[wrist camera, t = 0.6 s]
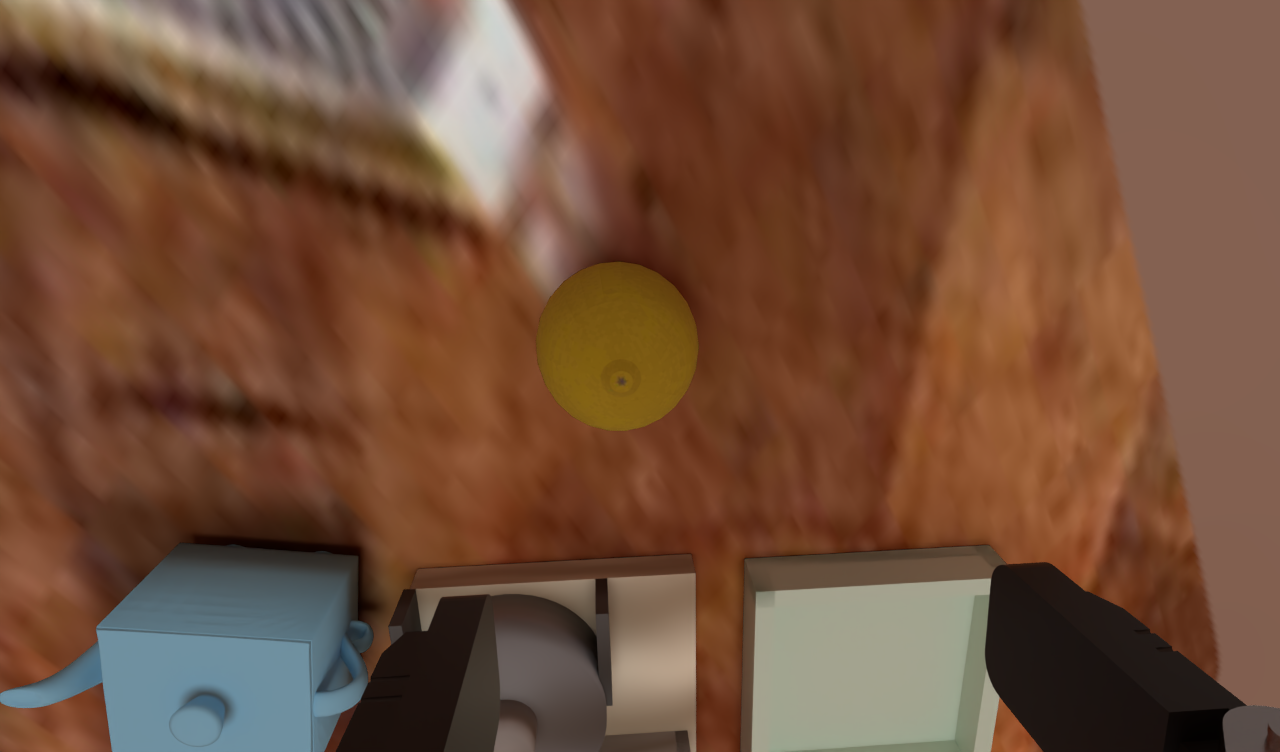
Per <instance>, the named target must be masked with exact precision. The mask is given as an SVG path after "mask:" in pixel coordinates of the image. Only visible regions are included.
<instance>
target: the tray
mask: <svg viewBox="0 0 1280 752" xmlns="http://www.w3.org/2000/svg"><path fill="white" fill-rule="evenodd" d="M999 565H1006V563H1005V561H1004V560H1003V559H1002V558H1001V557H1000V556H999V555H998V554H997V553H996V552H995V551H994V550H993V549H992V548H991V546H990V545H980V546H962V547H944V548H926V549H908V550H891V551H873V552H855V553H837V554H819V555H801V556H783V557H765V558H747V559H745V564H744V610H743V655H742V701H741V746H740V752H991V746H992V740H993V734H994V727H995V721H996V715H997V709H998V703H999V695H998V694H997V693H996V691H995V689H994V688H993V686H992V683H991V681H990V678H989V675H988V672H987V668H986V662H985V642H986V631H987V619H988V608H989V596H990V585H991V577H992V573H993V571H994V569H995V568H996V567H997V566H999Z"/></svg>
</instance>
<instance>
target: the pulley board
mask: <svg viewBox="0 0 1280 752" xmlns="http://www.w3.org/2000/svg"><path fill="white" fill-rule="evenodd" d="M483 594H489V595H490V596H491V599H492V604H493V612H494V623H495V634H496V645H497V656H498V667H499V678H500V715H499V725H498V730H497V736H496V741H495V746H494V752H696V573H695V569H694V564H693V560H692V555H691V554H679V555H661V556H643V557H625V558H607V559H589V560H570V561H552V562H534V563H516V564H498V565H480V566H462V567H444V568H426V569H418V570H417V572H416V575H415V577H414V580H413V582H412V585H411V587H410V589H407V590H403V592H402V595H401V597H400V600H399V602H398V605H397V607H396V609H395V612H394V614H393V617H392V619H391V622H390V624H389V626H388V627H389V633H390V639H391V645H392V644H393V643H394V642H395V641H396V640H397V639H399V638H400V637H401V636H402V635H403V634H404V633H405V632H416V631H428V629H429V626H430V623H431V621H432V618H433V616H434V613H435V611H436V608H437V606H438V603H439V601H440V599H441V598H442V597H449V596H466V595H483Z"/></svg>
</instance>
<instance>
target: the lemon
mask: <svg viewBox="0 0 1280 752" xmlns="http://www.w3.org/2000/svg"><path fill="white" fill-rule="evenodd" d="M536 349H537V361H538V365H539V368H540V371H541V374H542V377H543V380H544V383H545V385H546V386H547V388H548V389H549V391H550V393H551V394H552V396H553V397H554V399H555V400H556V402H557V403H558V404H559V405H560V406H561V407H562V408H564V409H565V410H566V411H567V412H568V413H569V414H570V415H571V416H573V417H574V418H576V419H578V420H580V421H581V422H583V423H585V424H587V425H589V426H592V427H596V428H600V429H604V430H611V431H627V430H631V429H636V428H640V427H644V426H646V425H649V424H651V423H653V422H655V421H657V420H659V419H661V418H662V417H663V416H665V415H666V414H667V413H668V412H669V411H671V410H672V409H673V408H674V407H675V406H676V405H677V403H678V402H679V401H680V399H681V398H682V397H683V395H684V394H685V393H686V391H687V390H688V387H689V385H690V383H691V380H692V378H693V375H694V373H695V370H696V365H697V357H698V350H699V343H698V336H697V328H696V323H695V320H694V318H693V315H692V313H691V311H690V308H689V306H688V303H687V302H686V301H685V299H684V298H683V297H682V295H681V294H680V293H679V291H678V290H677V289H676V287H675V286H674V285H673V284H671V283H670V282H669V281H667V280H666V279H665V278H664V277H662V276H661V275H660V274H658V273H657V272H655V271H653V270H650V269H648V268H646V267H643V266H641V265H638V264H632V263H626V262H620V261H619V262H609V263H599V264H596V265H594V266H591V267H588V268H585V269H582V270H580V271H579V272H577V273H576V274H574V275H573V276H571V277H570V278H568V279H567V280H565V281H564V282H563V283H562V284H561V285H560V287H559V288H558V289H557V290H556V291H555V292H554V294H553V295H552V296H551V297H550V298H549V300H548V303H547V305H546V307H545V309H544V311H543V313H542V315H541V317H540V321H539V326H538V331H537V336H536Z"/></svg>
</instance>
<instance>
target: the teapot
mask: <svg viewBox="0 0 1280 752" xmlns="http://www.w3.org/2000/svg"><path fill="white" fill-rule="evenodd" d="M96 631H97V636H98V641H97V642H96V643H95V644H94V645H93V646H91V647H90V648H89V649H88V650H87V651H86V652H85V653H83V654H82V655H81V656H80V657H79V658H77V659H76V660H75V661H74V662H72V663H71V664H70V665H68V666H67V667H65V668H64V669H63V670H61V671H59V672H57V673H56V674H54V675H52V676H51V677H48V678H46V679H44V680H41V681H39V682H36V683H33V684H29V685H25V686H22V687H17V688H13V689H9V690H6V691H4V692H2V693H1V694H0V702H1V703H2V704H5V705H7V706H11V707H17V708H36V707H42V706H47V705H50V704H53V703H56V702H59V701H62V700H65V699H67V698H70V697H72V696H74V695H77V694H79V693H81V692H83V691H85V690H87V689H89V688H91V687H93V686H95V685H97V684H99V683H102V682H103V687H104V695H105V702H106V710H107V717H108V725H109V733H110V740H111V747H112V752H324V751H325V749H326V746H327V744H328V742H329V739H330V737H331V735H332V732H333V730H334V728H335V726H336V723H337V721H338V719H339V716H340V714H341V712H343V711H346V710H348V709H349V708H351V707H353V706H354V705H355V704H357V703H358V702H359V701H360V700H361V697H362V695H363V693H364V691H365V689H366V686H367V684H368V672H367V668H366V665H365V663H364V660H363V658H362V657H361V655H360V653H363V652H365V651H366V650H367V649H369V647H370V646H371V644H372V641H373V637H374V634H373V630H372V628H371V626H370V625H369V624H367V623H365V622H362V621H358V556H354V555H342V554H332V553H330V552H327V551H316V552H302V551H289V550H276V549H262V548H249V547H243V546H240V545H235V544H231V545H227V546H221V545H208V544H194V543H179V544H178V545H177V546H176V547H175V548H174V549H173V550H172V551H171V552H170V553H169V554H168V555H167V556H166V557H165V558H164V559H163V560H162V561H161V562H160V563H159V564H158V565H157V566H156V567H155V568H154V569H153V570H152V571H151V572H150V573H149V574H148V575H147V576H146V577H145V578H144V579H143V580H142V581H141V582H140V583H139V584H138V585H137V586H136V587H135V588H134V589H133V590H132V591H131V592H130V593H129V594H128V595H127V596H126V598H125V599H124V600H123V601H122V602H121V603H120V604H119V605H118V606H117V607H116V608H115V609H114V610H113V611H112V612H111V613H110V614H109V615H108V616H107V617H106V618H105V619H104V620H103V621H102V622H101V623H100V624H99V625H98V626H97V629H96Z"/></svg>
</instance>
